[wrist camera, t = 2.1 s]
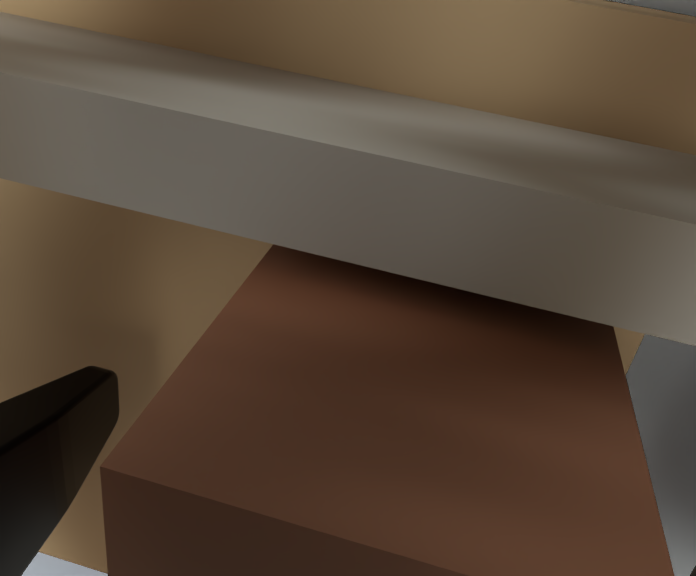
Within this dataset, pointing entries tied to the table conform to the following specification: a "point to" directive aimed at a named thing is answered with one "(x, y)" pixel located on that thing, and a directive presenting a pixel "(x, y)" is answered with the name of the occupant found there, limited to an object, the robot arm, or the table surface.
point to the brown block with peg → (384, 439)
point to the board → (329, 171)
